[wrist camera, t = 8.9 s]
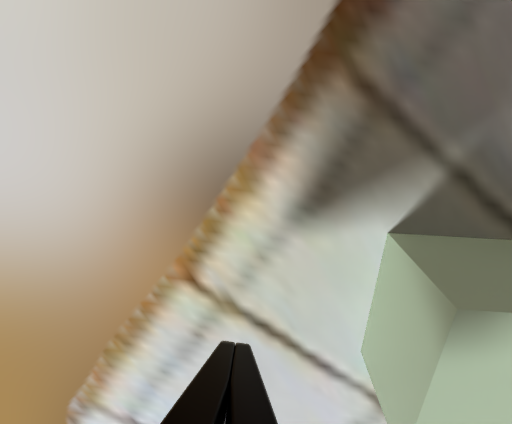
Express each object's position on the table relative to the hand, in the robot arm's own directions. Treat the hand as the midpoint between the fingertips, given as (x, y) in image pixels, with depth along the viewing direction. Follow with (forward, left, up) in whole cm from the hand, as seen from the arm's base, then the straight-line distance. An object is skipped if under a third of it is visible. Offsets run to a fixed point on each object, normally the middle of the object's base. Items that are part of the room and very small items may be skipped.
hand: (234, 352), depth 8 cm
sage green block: (0, -8, -4) cm, 9 cm away
